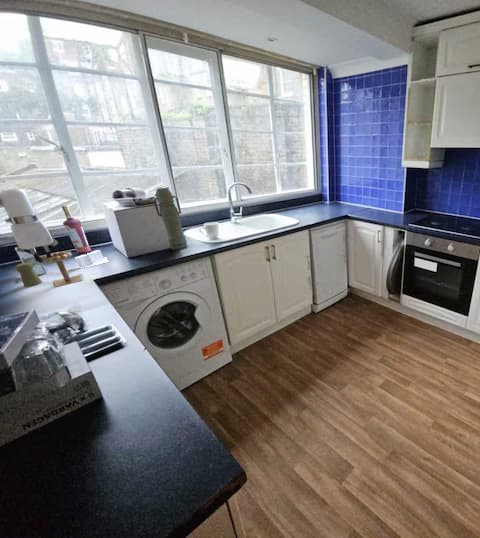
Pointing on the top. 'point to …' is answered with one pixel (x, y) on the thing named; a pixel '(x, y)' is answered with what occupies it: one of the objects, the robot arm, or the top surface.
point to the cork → (28, 274)
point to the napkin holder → (91, 259)
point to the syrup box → (30, 258)
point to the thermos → (170, 218)
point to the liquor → (75, 232)
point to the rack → (65, 276)
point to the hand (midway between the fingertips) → (45, 260)
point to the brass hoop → (56, 257)
